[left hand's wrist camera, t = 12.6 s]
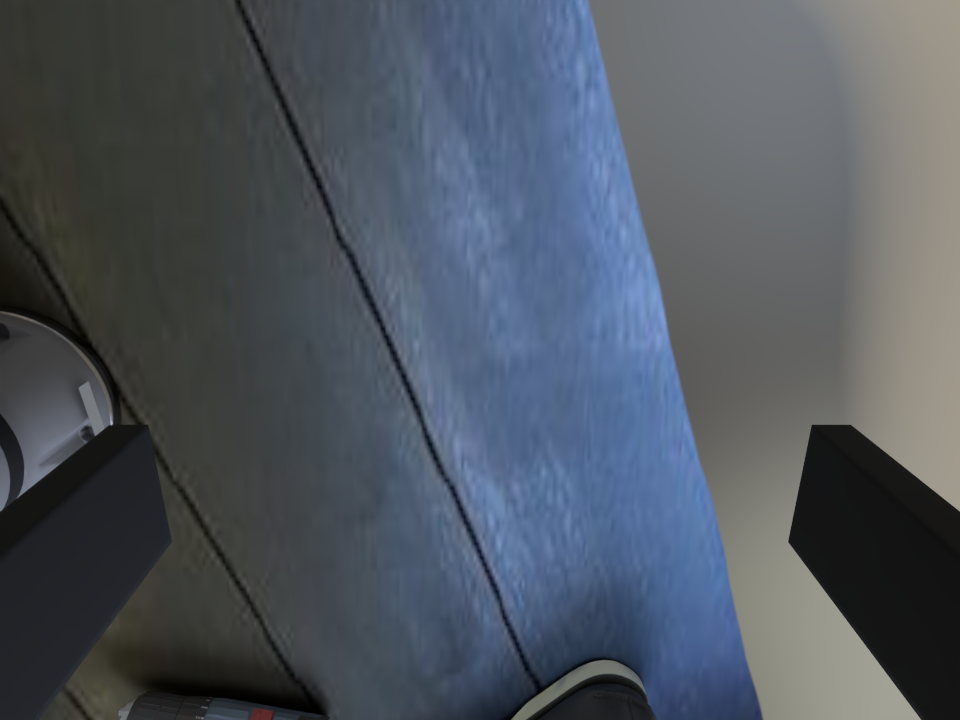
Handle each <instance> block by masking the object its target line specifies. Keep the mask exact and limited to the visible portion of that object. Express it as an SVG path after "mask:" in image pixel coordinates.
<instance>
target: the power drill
mask: <svg viewBox="0 0 960 720" xmlns="http://www.w3.org/2000/svg"><path fill="white" fill-rule="evenodd" d="M118 715H120V717H119V719H120V720H330V718H329V717H327V716H325V715H319V714H312V713H306V712H301V711H295V710H290V709H284V708H279V707H273V706H267V705H262V704H256V703H250V702H245V701H239V700H234V699H228V698H213V697H206V696H182V695H177V694H171V693H163V692H155V691H148V692H146V693H144V694H142V695H140V696H139V697H137V698H135V699H132V700H130V701H129V702H128V704H127V705H124V708H121V709H120V711H119V714H118Z"/></svg>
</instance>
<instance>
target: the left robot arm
mask: <svg viewBox="0 0 960 720" xmlns="http://www.w3.org/2000/svg"><path fill="white" fill-rule="evenodd" d="M171 542H172V541H171V536H170V531H169V526H168V521H167V516H166V511H165V506H164V501H163V496H162V491H161V486H160V481H159V476H158V471H157V466H156V462H155V457H154V452H153V447H152V442H151V437H150V432H149V427H148V425H120V405H119V400H118V396H117V392H116V389H115V387H114V384H113V382H112V379H111V377H110V376H109V374H108V372H107V370H106V368H105V367H104V365H103V364H102V362H101V361H100V360H99V358H98V357H97V356H96V355H95V353H94V352H93V351H92V350H91V349H90V348H89V347H88V346H87V345H86V344H85V343H84V342H83V341H82V340H81V339H79V338H78V337H77V336H76V335H75V334H73V333H72V332H70V331H69V330H68V329H66V328H65V327H63V326H61V325H60V324H58V323H56V322H54V321H52V320H50V319H48V318H46V317H44V316H41V315H39V314H36V313H33V312H30V311H26V310H22V309H17V308H12V307H0V720H39V718H40V717H41V716H42V714H43V713H44V712H45V710H46V709H47V708H48V706H49V705H50V704H51V702H52V701H53V700H54V698H55V697H56V696H57V694H58V693H59V692H60V690H61V689H62V688H63V686H64V685H65V684H66V682H67V681H68V680H69V678H70V677H71V676H72V674H73V673H74V672H75V670H76V669H77V668H78V666H79V665H80V664H81V662H82V661H83V660H84V658H85V657H86V656H87V654H88V653H89V652H90V650H91V649H92V648H93V646H94V645H95V644H96V642H97V641H98V640H99V638H100V637H101V636H102V634H103V633H104V632H105V630H106V629H107V628H108V626H109V625H110V624H111V622H112V621H113V620H114V618H115V617H116V616H117V614H118V613H119V612H120V610H121V609H122V608H123V606H124V605H125V604H126V602H127V601H128V600H129V598H130V597H131V596H132V594H133V593H134V592H135V590H136V589H137V588H138V586H139V585H140V584H141V582H142V581H143V580H144V578H145V577H146V576H147V574H148V573H149V572H150V570H151V569H152V568H153V566H154V565H155V564H156V562H157V561H158V560H159V558H160V557H161V556H162V554H163V553H164V552H165V550H166V549H167V547H168V546H169V545H170V543H171ZM788 542H789V543H790V545H791V546H792V547H793V549H794V550H795V552H796V553H797V554H798V556H799V557H800V558H801V559H802V561H803V562H804V564H805V565H806V566H807V568H808V569H809V570H810V571H811V573H812V574H813V576H814V577H815V578H816V579H817V581H818V582H819V584H820V585H821V586H822V588H823V589H824V590H825V592H826V593H827V594H828V596H829V597H830V598H831V600H832V601H833V602H834V604H835V605H836V606H837V608H838V609H839V610H840V612H841V613H842V614H843V616H844V617H845V618H846V620H847V621H848V622H849V624H850V625H851V626H852V628H853V629H854V630H855V632H856V633H857V634H858V636H859V637H860V638H861V640H862V641H863V642H864V644H865V645H866V646H867V648H868V649H869V650H870V652H871V653H872V654H873V656H874V657H875V658H876V660H877V661H878V662H879V664H880V665H881V666H882V668H883V669H884V670H885V672H886V673H887V674H888V676H889V677H890V678H891V680H892V681H893V682H894V684H895V685H896V686H897V688H898V689H899V690H900V692H901V693H902V694H903V696H904V697H905V698H906V700H907V701H908V702H909V704H910V705H911V706H912V708H913V709H914V710H915V712H916V713H917V714H918V716H919V717H920V718H921V720H960V512H959V511H958V510H957V509H956V508H954V507H953V506H952V505H951V504H949V503H948V502H947V501H946V500H944V499H943V498H942V497H941V496H939V495H938V494H937V493H936V492H934V491H933V490H932V489H931V488H929V487H928V486H927V485H926V484H924V483H923V482H922V481H921V480H919V479H918V478H917V477H916V476H914V475H913V474H912V473H910V472H909V471H908V470H907V469H905V468H904V467H903V466H902V465H900V464H899V463H898V462H897V461H895V460H894V459H893V458H892V457H890V456H889V455H888V454H887V453H885V452H884V451H883V450H882V449H880V448H879V447H878V446H876V445H875V444H874V443H873V442H872V441H870V440H869V439H868V438H866V437H865V436H864V435H863V434H861V433H860V432H859V431H858V430H856V429H855V428H854V427H853V426H851V425H812V427H811V432H810V437H809V442H808V447H807V452H806V457H805V462H804V466H803V471H802V476H801V481H800V486H799V491H798V496H797V501H796V506H795V511H794V516H793V521H792V526H791V531H790V536H789V541H788Z"/></svg>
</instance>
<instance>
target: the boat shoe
mask: <svg viewBox="0 0 960 720" xmlns="http://www.w3.org/2000/svg"><path fill="white" fill-rule="evenodd" d="M512 720H656V717H655V715H654V713H653V712H652V710H651V707H650V706H649V705H648V699H647V696H646V693H645V690H644V686H643V684H642V681H641V680H640V678H639V677H638V676H637V675H636V674H635V672H633V671H632V670H631V669H630V668H628V667H626V666H625V665H622V664H620V663H618V662H616V661H610V660H600V661H594V662H590V663H587V664H585V665H583V666H580V667H578V668H576V669H575V670H573V671H572V672H570V673H569V674H567V675H566V676H564V677H563V678H561V679H560V680H558V681H557V682H555V683H554V684H553V685H551V686H550V687H549V688H547V689H546V690H544V691H543V692H542V693H540V694H539V695H537V696H536V697H534V698H533V699H532V700H530V701H529V702H528V703H526V704H525V705H524V706H523V708H522V709H521V710H520V711H519V712H518V713H517V714H516V715H515V716H514V717H513V718H512Z"/></svg>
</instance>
